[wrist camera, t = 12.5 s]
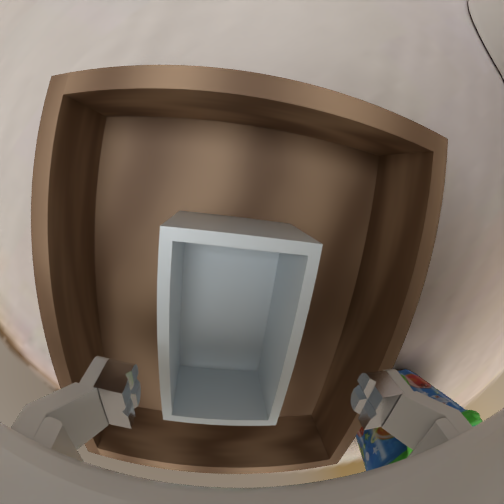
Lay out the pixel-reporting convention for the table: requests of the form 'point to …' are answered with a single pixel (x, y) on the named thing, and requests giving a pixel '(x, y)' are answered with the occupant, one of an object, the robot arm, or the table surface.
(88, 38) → the table surface
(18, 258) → the table surface
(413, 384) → the snack cup
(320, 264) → the large crate
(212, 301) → the small crate
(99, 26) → the table surface
